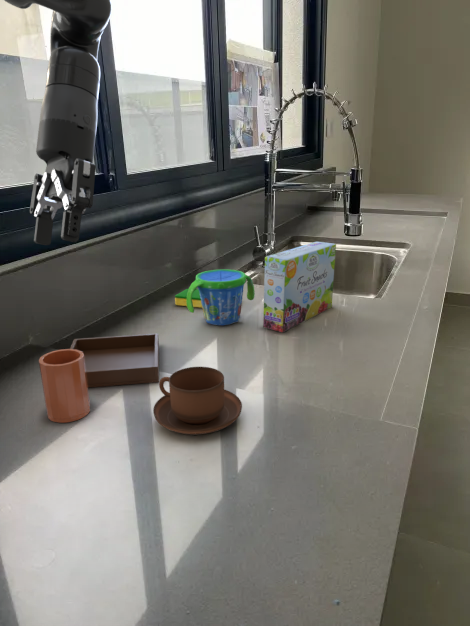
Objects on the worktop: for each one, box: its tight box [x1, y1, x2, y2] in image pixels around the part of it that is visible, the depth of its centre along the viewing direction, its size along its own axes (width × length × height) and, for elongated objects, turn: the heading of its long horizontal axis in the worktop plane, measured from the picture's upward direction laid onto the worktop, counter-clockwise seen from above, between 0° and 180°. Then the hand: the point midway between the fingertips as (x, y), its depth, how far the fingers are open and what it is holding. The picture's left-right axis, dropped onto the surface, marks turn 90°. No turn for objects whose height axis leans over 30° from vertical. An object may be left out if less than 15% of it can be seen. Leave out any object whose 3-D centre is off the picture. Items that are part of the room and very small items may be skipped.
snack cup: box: [186, 268, 256, 326], centre depth 105 cm, size 16×10×10 cm
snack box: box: [262, 241, 337, 333], centre depth 106 cm, size 21×6×15 cm, turn 143°
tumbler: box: [38, 348, 91, 424], centre depth 69 cm, size 6×6×8 cm
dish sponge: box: [174, 287, 203, 309], centre depth 118 cm, size 7×14×2 cm, turn 69°
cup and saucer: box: [152, 366, 243, 435], centre depth 67 cm, size 12×12×6 cm
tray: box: [69, 332, 160, 389], centre depth 85 cm, size 15×15×3 cm
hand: (55, 242), depth 69 cm, fingers open, 8 cm apart
